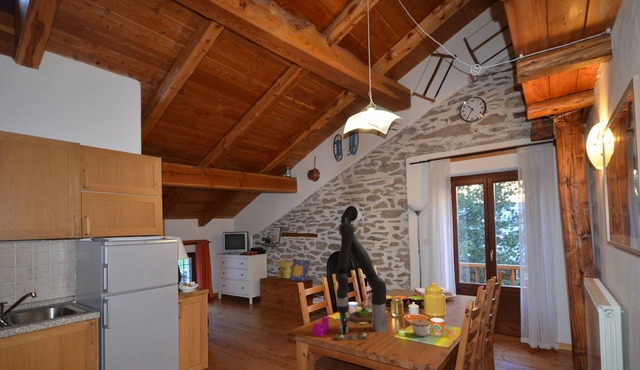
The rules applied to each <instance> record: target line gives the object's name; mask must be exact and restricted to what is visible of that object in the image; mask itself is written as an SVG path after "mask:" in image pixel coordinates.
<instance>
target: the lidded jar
mask: <svg viewBox="0 0 640 370" xmlns="http://www.w3.org/2000/svg"><path fill="white" fill-rule="evenodd" d="M411 329H412V331H413V333H414V334H415V335H416V336H418V337H426V336H427V335H428V333H429V331H430V322H429V320H427V319H422V318H415V319H414V320H413V319H412V321H411Z"/></svg>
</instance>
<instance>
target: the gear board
mask: <svg viewBox="0 0 640 370" xmlns="http://www.w3.org/2000/svg"><path fill="white" fill-rule="evenodd" d="M334 339H335V340H334ZM369 339H370V338H369V336H368V333H365V332H358V333H357V334H348V335H344V334H342V333H340V334H339V333H338V334H337V333H336V334H335V335H333V340H334V342H340V341H339V340H342V341H341V342H344V341H343V340H346V341H359V340H360V341H365V340H369Z"/></svg>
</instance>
